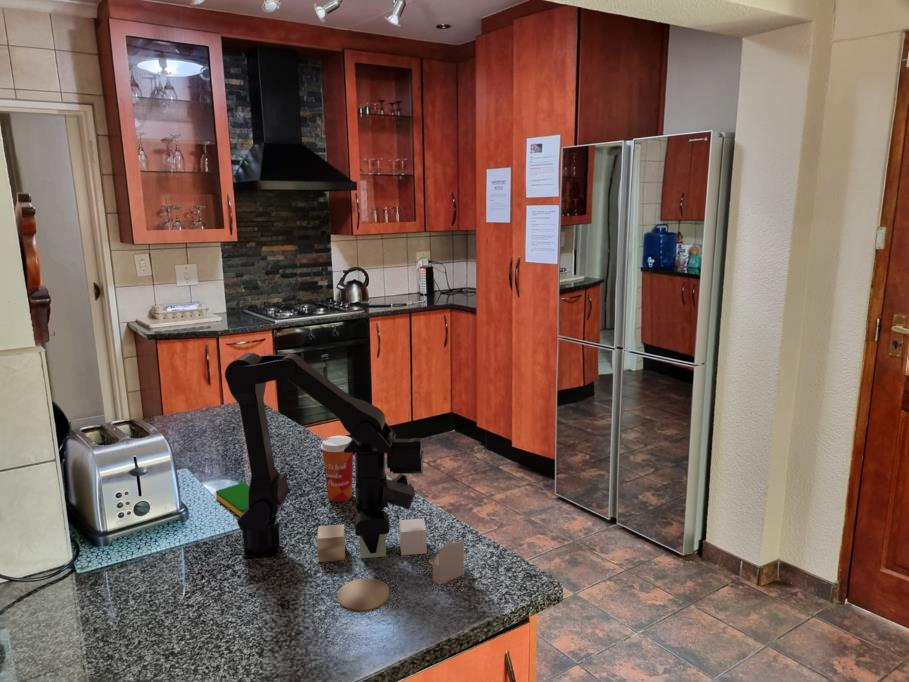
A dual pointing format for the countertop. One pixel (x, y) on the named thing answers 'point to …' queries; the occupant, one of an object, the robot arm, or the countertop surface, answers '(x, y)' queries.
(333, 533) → the maple block
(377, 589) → the coaster
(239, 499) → the dish sponge
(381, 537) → the sage block
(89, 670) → the countertop surface
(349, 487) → the paper cup
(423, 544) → the offwhite block
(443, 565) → the architectural model
